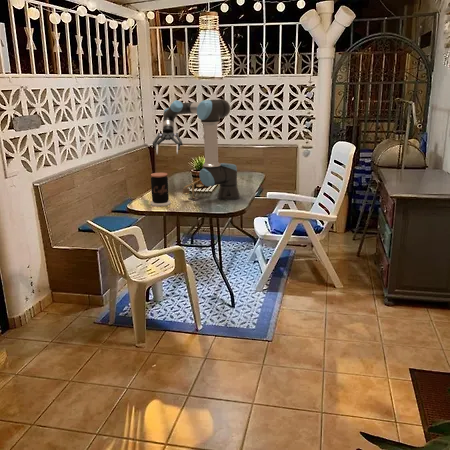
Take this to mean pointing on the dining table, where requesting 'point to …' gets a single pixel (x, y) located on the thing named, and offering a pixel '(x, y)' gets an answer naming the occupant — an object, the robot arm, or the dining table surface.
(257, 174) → the dining table surface
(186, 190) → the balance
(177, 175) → the dining table surface
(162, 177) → the coffee jar
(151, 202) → the dish
